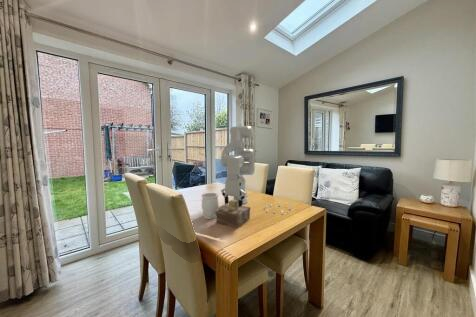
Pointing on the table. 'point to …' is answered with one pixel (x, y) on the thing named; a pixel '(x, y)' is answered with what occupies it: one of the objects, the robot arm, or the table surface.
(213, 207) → the jar
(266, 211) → the game piece set
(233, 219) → the box
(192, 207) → the table surface
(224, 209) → the lid
